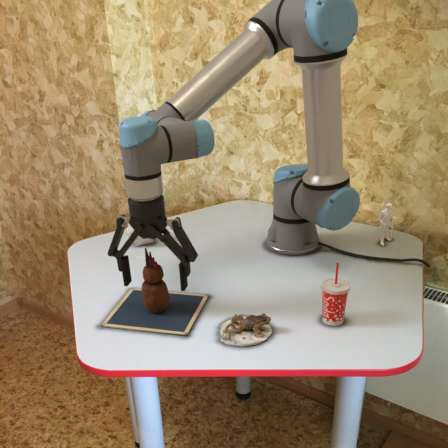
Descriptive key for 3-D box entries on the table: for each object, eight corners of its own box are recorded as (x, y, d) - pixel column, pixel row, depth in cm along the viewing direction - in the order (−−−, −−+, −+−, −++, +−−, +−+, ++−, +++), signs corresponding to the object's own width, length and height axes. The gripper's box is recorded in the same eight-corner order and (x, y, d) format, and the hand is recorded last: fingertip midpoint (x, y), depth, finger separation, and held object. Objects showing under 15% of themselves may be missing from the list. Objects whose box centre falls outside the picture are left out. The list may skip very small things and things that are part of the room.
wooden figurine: (140, 305, 126) (133, 247, 118) (164, 300, 128) (158, 242, 120) (148, 319, 120) (142, 258, 113) (173, 313, 122) (167, 253, 115)
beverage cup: (313, 316, 120) (317, 260, 113) (337, 311, 122) (342, 255, 115) (327, 330, 115) (332, 271, 108) (352, 324, 117) (358, 266, 110)
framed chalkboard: (208, 296, 130) (208, 294, 129) (186, 336, 114) (186, 334, 114) (131, 289, 134) (131, 287, 134) (101, 326, 119) (100, 325, 118)
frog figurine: (269, 315, 121) (270, 301, 119) (275, 345, 110) (275, 330, 108) (219, 317, 121) (218, 302, 119) (219, 347, 110) (219, 332, 108)
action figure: (381, 246, 153) (386, 206, 147) (372, 242, 155) (376, 202, 149) (397, 241, 156) (402, 201, 150) (387, 237, 158) (392, 198, 152)
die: (153, 236, 165) (131, 212, 162) (168, 230, 158) (145, 204, 155) (137, 255, 161) (114, 230, 157) (152, 248, 154) (128, 222, 150)
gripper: (208, 192, 111) (213, 282, 121) (98, 187, 117) (111, 274, 127) (198, 204, 105) (204, 298, 115) (82, 199, 110) (98, 289, 121)
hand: (155, 286), depth 121 cm, fingers open, 13 cm apart
